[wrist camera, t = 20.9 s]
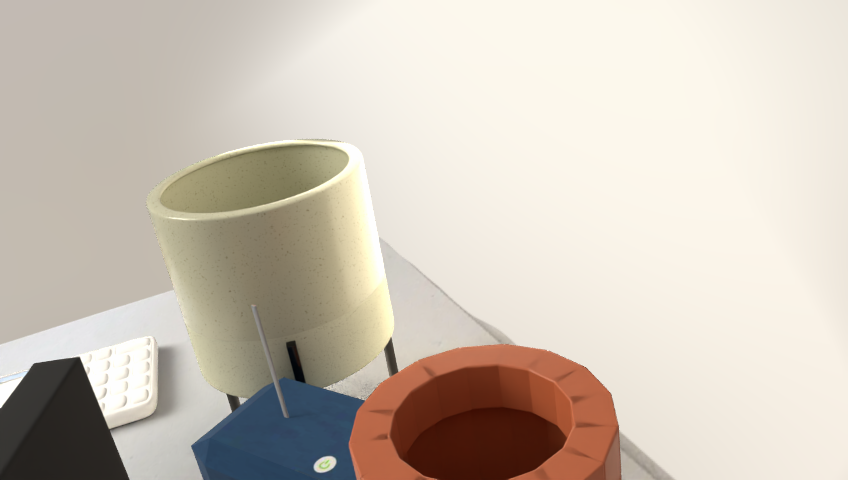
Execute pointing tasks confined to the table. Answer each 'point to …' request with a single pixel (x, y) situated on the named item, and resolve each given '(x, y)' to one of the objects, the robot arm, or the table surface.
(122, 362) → the calculator
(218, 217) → the planter
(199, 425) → the table surface
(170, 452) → the table surface
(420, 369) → the canister
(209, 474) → the radio
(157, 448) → the table surface
